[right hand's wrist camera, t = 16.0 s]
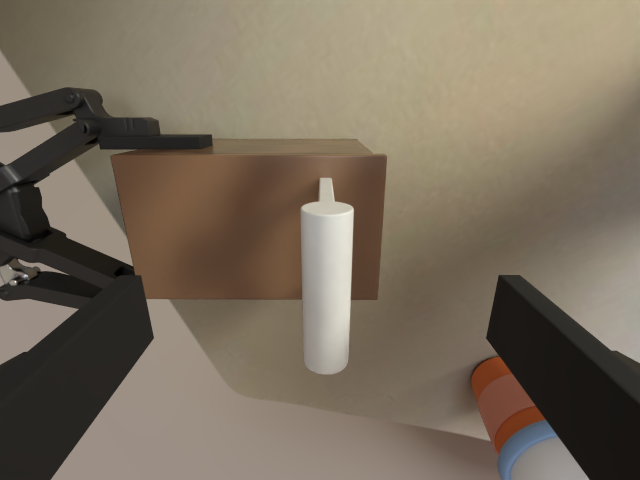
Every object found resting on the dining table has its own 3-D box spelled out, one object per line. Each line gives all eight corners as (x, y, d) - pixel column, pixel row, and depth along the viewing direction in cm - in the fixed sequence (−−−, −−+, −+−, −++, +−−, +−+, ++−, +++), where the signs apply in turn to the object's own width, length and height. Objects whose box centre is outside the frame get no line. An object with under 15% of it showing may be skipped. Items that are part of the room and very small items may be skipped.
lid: (384, 153, 20) (429, 184, 12) (375, 293, 23) (405, 395, 15) (118, 153, 20) (-27, 184, 12) (146, 292, 23) (48, 393, 15)
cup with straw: (456, 412, 41) (551, 625, 24) (457, 348, 38) (566, 543, 21) (536, 404, 40) (689, 617, 23) (543, 339, 37) (726, 531, 20)
